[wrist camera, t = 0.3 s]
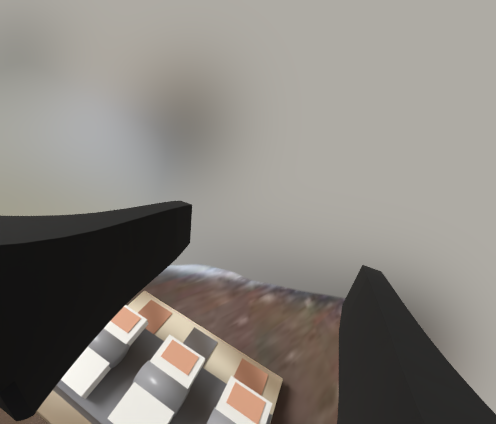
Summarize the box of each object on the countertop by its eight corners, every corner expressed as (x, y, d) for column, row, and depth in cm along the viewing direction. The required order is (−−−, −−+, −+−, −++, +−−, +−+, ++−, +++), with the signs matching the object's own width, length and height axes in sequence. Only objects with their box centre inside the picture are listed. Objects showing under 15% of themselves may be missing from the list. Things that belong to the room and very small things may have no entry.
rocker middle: (153, 455, 15) (150, 455, 14) (110, 420, 16) (104, 416, 15) (205, 364, 20) (206, 357, 18) (169, 339, 20) (168, 331, 19)
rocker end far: (87, 401, 17) (80, 396, 16) (51, 371, 18) (41, 364, 16) (149, 326, 21) (147, 318, 20) (118, 305, 22) (114, 295, 21)
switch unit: (220, 580, 15) (234, 583, 12) (28, 405, 19) (14, 385, 16) (278, 385, 24) (291, 367, 22) (144, 298, 28) (144, 276, 26)
